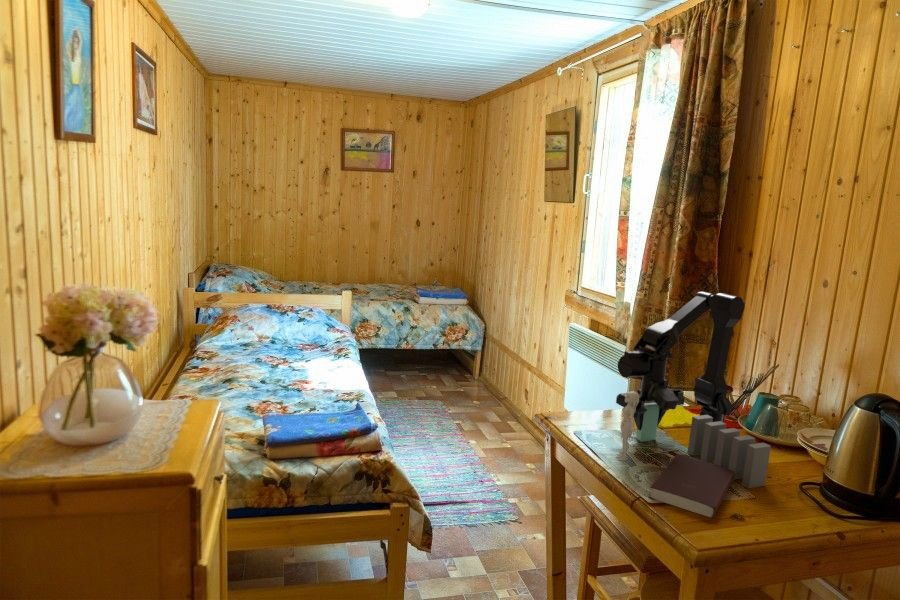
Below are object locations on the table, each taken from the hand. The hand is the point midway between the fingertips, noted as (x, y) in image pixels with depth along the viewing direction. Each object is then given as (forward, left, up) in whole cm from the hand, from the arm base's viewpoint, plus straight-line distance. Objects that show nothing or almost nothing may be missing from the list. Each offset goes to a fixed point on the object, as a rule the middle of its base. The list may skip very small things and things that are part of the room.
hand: (647, 428), depth 170 cm
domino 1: (-8, +11, -3) cm, 14 cm away
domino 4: (-8, +24, -3) cm, 26 cm away
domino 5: (-8, +29, -3) cm, 30 cm away
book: (+8, +27, -4) cm, 28 cm away
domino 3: (-8, +20, -3) cm, 22 cm away
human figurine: (+14, +9, -3) cm, 17 cm away
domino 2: (-8, +15, -3) cm, 18 cm away
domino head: (0, 0, -3) cm, 3 cm away
